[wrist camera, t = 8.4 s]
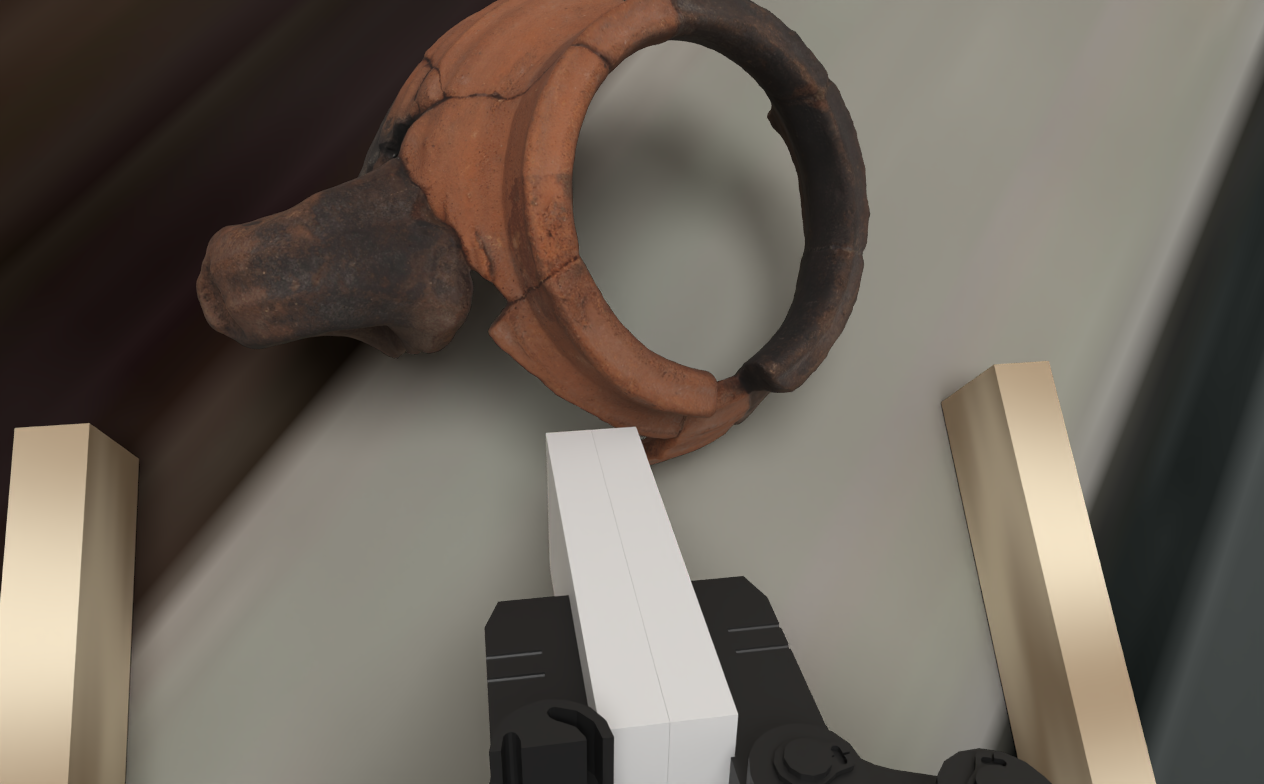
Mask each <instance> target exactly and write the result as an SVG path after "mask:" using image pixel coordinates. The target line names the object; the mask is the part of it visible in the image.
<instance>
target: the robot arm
mask: <svg viewBox="0 0 1264 784" xmlns="http://www.w3.org/2000/svg"><path fill="white" fill-rule="evenodd" d="M546 459H547V493H548V526H549V560H550V572H551V578H552V585H553V591H554V596H553V597H543V598H532V599H522V600H511V601H501V602H498V603H497V605H496V607H495V609H494V611H493V613H492V615H491V617H490V618H489V620H488V622H487V624H486V626H485V643H486V663H487V682H488V702H489V721H490V741H491V746H490V751H489V756H490V770H491V780H490V783H489V784H1052V783H1051V782H1050V781H1049V780H1048V779H1047V778H1046V777H1045V776H1043V775H1042V774H1041V773H1039V772H1038V771H1037V770H1036V769H1034V768H1033V767H1032V766H1030V765H1029V764H1028V763H1026V762H1025V761H1023V760H1020V759H1018V758H1016V757H1013V756H1011V755H1009V754H1006V753H1004V752H1000V751H994V750H987V749H980V748H978V749H972V750H966V751H960V752H958V753H956V754H955V755H953V756H952V757H950V758H949V759H947V760H946V761H944V763H943V765H942V767H941V769H940V771H939V773H938V776H933V775H926V774H919V773H913V772H906V771H899V770H893V769H889V768H885V767H881V766H877V765H874V764H872V763H870V762H867V761H865V760H863V759H861V758H860V757H859V756H858V754H857V753H856V751H855V750H854V749H853V747H852V746H851V745H850V743H848V742H847V741H845V740H844V739H842V738H841V737H839V736H838V735H836V734H835V733H834V732H832V731H829V730H828V728H827V726H826V725H825V723H824V721H823V719H822V716H821V714H820V712H819V710H818V708H817V705H816V703H815V701H814V699H813V697H812V694H811V692H810V690H809V688H808V686H807V683H806V681H805V679H804V677H803V675H802V673H801V670H800V668H799V666H798V664H797V662H796V659H795V657H794V655H793V653H792V651H791V649H789V647H788V642H787V640H786V637H785V635H784V633H783V631H782V629H781V628H779V622H778V620H777V618H776V615H775V613H774V611H773V609H772V607H771V604H770V602H769V600H768V598H767V597H766V596H765V595H764V594H763V593H762V592H761V591H760V590H758V589H757V588H756V587H755V586H754V585H753V584H752V583H750V582H749V581H748V580H747V579H746V578H745V577H744V576H739V577H729V578H718V579H708V580H697V581H691V580H690V577H689V574H688V572H687V569H686V566H685V563H684V560H683V558H682V555H681V552H680V549H679V546H678V543H677V541H676V538H675V535H674V532H673V529H672V527H671V524H670V521H669V518H668V515H667V513H666V510H665V507H664V504H663V501H662V498H661V496H660V493H659V490H658V487H657V484H656V482H655V479H654V476H653V473H652V470H651V467H650V465H649V462H648V459H647V456H646V453H645V451H644V448H643V445H642V442H641V439H640V436H639V434H638V431H637V428H636V427H624V428H610V429H596V430H581V431H567V432H552V433H546Z"/></svg>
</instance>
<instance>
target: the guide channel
mask: <svg viewBox="0 0 1264 784" xmlns="http://www.w3.org/2000/svg"><path fill="white" fill-rule="evenodd" d="M941 404H942V408H943V413H944V417H945V422H946V427H947V431H948V436H949V441H950V445H951V450H952V455H953V459H954V464H955V469H956V473H957V478H958V483H959V487H960V492H961V496H962V501H963V506H964V510H965V515H966V520H967V524H968V529H969V534H970V538H971V543H972V548H973V552H974V557H975V561H976V566H977V571H978V575H979V580H980V585H981V589H982V594H983V599H984V603H985V608H986V613H987V617H988V622H989V626H990V631H991V636H992V640H993V645H994V650H995V654H996V659H997V664H998V668H999V673H1000V678H1001V682H1002V687H1003V692H1004V696H1005V701H1006V705H1007V710H1008V715H1009V719H1010V724H1011V729H1012V733H1013V738H1014V743H1015V747H1016V752H1017V757H1018V759H1020V760H1023V761H1025V762H1026V763H1028V764H1029V765H1030V766H1032V767H1033V768H1034V769H1036V770H1037V771H1038V772H1039V773H1041V774H1042V775H1043V776H1045V777H1046V778H1047V779H1048V780H1049V781H1050V782H1051V783H1052V784H1156V782H1155V778H1154V774H1153V770H1152V766H1151V762H1150V758H1149V754H1148V751H1147V747H1146V743H1145V739H1144V735H1143V731H1142V727H1141V723H1140V719H1139V715H1138V711H1137V707H1136V703H1135V699H1134V695H1133V691H1132V687H1131V683H1130V680H1129V676H1128V672H1127V668H1126V664H1125V660H1124V656H1123V652H1122V648H1121V644H1120V640H1119V636H1118V632H1117V628H1116V624H1115V620H1114V616H1113V612H1112V609H1111V605H1110V601H1109V597H1108V593H1107V589H1106V585H1105V581H1104V577H1103V573H1102V569H1101V565H1100V561H1099V557H1098V553H1097V549H1096V545H1095V541H1094V538H1093V534H1092V530H1091V526H1090V522H1089V518H1088V514H1087V510H1086V506H1085V502H1084V498H1083V494H1082V490H1081V486H1080V482H1079V478H1078V474H1077V470H1076V466H1075V463H1074V459H1073V455H1072V451H1071V447H1070V443H1069V439H1068V435H1067V431H1066V427H1065V423H1064V419H1063V415H1062V411H1061V407H1060V403H1059V399H1058V395H1057V392H1056V388H1055V384H1054V380H1053V376H1052V372H1051V368H1050V364H1049V361H1042V362H1026V363H1011V364H995V365H993V366H991V367H990V368H989V369H987V370H986V371H984V372H983V373H982V374H980V375H979V376H977V377H976V378H975V379H973V380H972V381H970V382H969V383H968V384H966V385H965V386H963V387H962V388H961V389H959V390H958V391H956V392H955V393H954V394H952V395H951V396H949V397H948V398H947V399H945V400H944V401H942V402H941ZM138 473H139V459H138V458H137V457H136V456H134V455H133V454H131V453H130V452H129V451H127V450H126V449H124V448H123V447H122V446H120V445H119V444H117V443H116V442H115V441H113V440H112V439H111V438H109V437H108V436H106V435H105V434H104V433H102V432H101V431H99V430H98V429H97V428H95V427H94V426H92V425H91V424H90V423H87V424H72V425H56V426H41V427H25V428H15V433H14V445H13V457H12V468H11V480H10V492H9V504H8V516H7V528H6V540H5V552H4V564H3V576H2V588H1V600H0V784H125V771H126V748H127V725H128V702H129V679H130V656H131V633H132V610H133V587H134V564H135V541H136V518H137V496H138Z"/></svg>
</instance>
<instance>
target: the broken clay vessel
mask: <svg viewBox="0 0 1264 784" xmlns="http://www.w3.org/2000/svg"><path fill="white" fill-rule="evenodd" d="M668 40H678V41H686V42H692V43H696V44H700V45H703V46H705V47H707V48H710V49H713V50H715V51H717V52H719V53H721V54H723V55H724V56H726V57H727V58H729V59H730V60H732V61H733V62H735V63H736V64H737V65H739V66H740V67H742V68H743V69H744V70H745V71H746V72H747V73H748V74H749V75H750V76H751V77H753V78H754V79H755V80H756V82H757V83H758V84H759V86H760V87H761V88H762V89H763V90H764V91H765V93H766V94H767V96H768V98H769V99H770V101H771V105H772V107H771V110H770V111H769V113H768V115H767V118H768V120H769V121H770V123H771V125H772V127H773V128H774V129H775V130H776V131H777V132H778V133H779V134H780V135H781V137H782V138H783V140H784V142H785V144H786V145H787V147H788V150H789V152H790V155H791V157H792V161H793V163H794V165H795V169H796V172H797V175H798V182H799V192H800V198H801V208H802V219H803V229H804V236H805V249H804V253H803V257H802V259H801V263H800V270H799V275H798V279H797V284H796V291H795V295H794V299H793V302H792V304H791V307H790V309H789V311H788V314H787V316H786V318H785V320H784V322H783V324H782V325H781V327H780V328H779V330H778V331H777V332H776V334H775V335H774V336H773V337H772V338H771V339H770V341H769V342H768V343H767V344H766V345H765V346H764V347H763V348H762V349H761V350H760V351H759V352H757V353H756V354H755V355H754V356H753V357H752V358H750V359H749V360H748V361H747V362H745V363H744V364H743V366H742V367H741V368H740V369H739V370H738V372H737V373H736V374H735V375H734V376H732V377H729V378H727V379H724V380H721V381H716V379H715V377H714V376H713V375H712V374H711V373H709V372H707V371H703V370H698V369H694V368H690V367H686V366H683V365H681V364H678V363H676V362H673V361H671V360H668V359H666V358H664V357H662V356H660V355H658V354H656V353H654V352H652V351H651V350H649V349H648V348H646V347H645V346H644V345H643V344H642V343H641V342H640V341H639V340H638V339H636V338H635V337H634V336H633V335H632V334H631V332H630V331H629V330H628V329H627V328H626V327H625V326H623V325H622V323H621V322H620V321H619V320H618V318H617V317H616V316H615V314H614V313H613V311H612V310H611V308H610V307H609V305H608V304H607V303H606V301H605V300H604V298H603V296H602V294H601V292H600V290H599V289H598V287H597V286H596V284H595V282H594V280H593V278H592V276H591V275H590V273H589V271H588V269H587V267H586V265H585V263H584V262H583V260H582V259H581V257H580V255H579V245H578V238H577V233H576V229H575V224H574V216H573V188H572V174H573V164H574V159H575V150H576V146H577V141H578V137H579V132H580V129H581V126H582V123H583V120H584V118H585V115H586V112H587V109H588V106H589V104H590V102H591V100H592V98H593V96H594V94H595V93H596V91H597V90H598V88H599V87H600V85H601V84H602V83H603V81H604V80H605V79H606V77H607V75H608V74H609V73H611V72H612V71H613V70H614V69H615V68H616V67H617V66H618V65H619V64H620V63H621V62H622V61H623V60H624V59H626V58H627V57H629V56H630V55H632V54H633V53H635V52H636V51H638V50H640V49H643V48H645V47H648V46H652V45H657V44H660V43H663V42H666V41H668ZM869 217H870V211H869V206H868V200H867V195H866V175H865V165H864V162H863V158H862V153H861V149H860V146H859V142H858V139H857V132H856V130H855V127H854V125H853V121H852V119H851V116H850V113H849V111H848V109H847V108H846V106H845V103H844V101H843V99H842V97H841V94H840V91H839V90H838V88H837V86H836V85H835V84H834V83H833V82H832V81H831V80H830V79H829V78H828V74H827V71H826V70H825V68H824V67H823V65H822V64H821V63H820V62H819V61H818V59H817V58H816V57H815V55H814V54H813V53H812V51H811V50H810V49H809V48H808V47H807V46H806V45H805V44H804V42H803V41H802V39H801V38H800V37H799V35H798V34H797V33H796V32H795V31H793V30H791V29H790V28H788V27H787V26H786V25H785V24H784V23H783V22H782V21H781V20H780V19H779V18H777V17H776V16H775V15H774V14H773V13H771V12H770V11H768V10H767V9H765V8H763V7H761V6H759V5H757V4H755V3H754V2H752V1H750V0H626V1H625V2H624V0H498V1H495V2H494V3H492V4H491V5H489V6H487V7H486V8H484V9H482V10H481V11H479V12H477V13H475V14H473V15H471V16H469V17H467V18H466V19H464V20H463V21H461V22H460V23H458V24H457V25H456V26H454V27H453V28H451V29H450V30H449V31H447V32H446V33H445V34H444V35H443V36H442V37H440V38H439V39H438V40H437V41H436V43H435V44H434V45H433V46H432V47H431V48H429V49H428V50H427V51H426V53H425V55H424V59H423V60H422V62H421V63H419V65H418V66H417V67H416V68H415V70H414V71H413V72H412V74H411V75H410V77H409V78H408V79H407V81H406V82H405V84H404V85H403V87H402V88H401V90H400V92H399V94H398V95H397V97H396V99H395V100H394V102H393V104H392V105H391V107H390V109H389V110H388V112H387V114H386V116H385V118H384V120H383V122H382V124H381V126H380V128H379V130H378V132H377V134H376V136H375V138H374V140H373V142H372V144H371V146H370V148H369V150H368V152H367V155H366V158H365V162H364V165H363V168H362V170H361V172H360V174H359V177H358V178H356V179H353V180H351V181H348V182H346V183H343V184H341V185H338V186H335V187H333V188H330V189H327V190H324V191H321V192H318V193H316V194H314V195H312V196H311V197H309V198H307V199H305V200H304V201H302V202H301V203H299V204H298V205H296V206H294V207H292V208H290V209H288V210H286V211H283V212H280V213H277V214H274V215H270V216H267V217H263V218H261V219H258V220H255V221H253V222H249V223H244V224H240V225H232V226H226V227H224V228H222V229H221V230H220V231H218V232H217V233H216V234H215V235H214V236H213V237H212V238H211V240H210V242H209V244H208V247H207V251H206V256H205V258H204V260H203V263H202V267H201V273H200V275H199V277H198V279H197V284H196V289H197V295H198V300H199V302H200V304H201V307H202V309H203V312H204V315H205V318H206V320H207V322H208V323H209V325H210V326H211V327H212V328H213V329H214V330H216V331H217V332H220V333H222V334H224V335H226V336H228V337H230V338H232V339H234V340H236V341H237V342H239V343H240V344H241V345H243V346H245V347H248V348H252V349H264V348H268V347H272V346H276V345H281V344H285V343H289V342H292V341H296V340H300V339H304V338H309V337H317V336H347V337H351V338H354V339H357V340H360V341H362V342H364V343H366V344H369V345H371V346H373V347H375V348H376V349H378V350H380V351H381V352H383V353H384V354H386V355H387V356H389V357H393V358H398V357H399V356H401V355H402V354H403V353H405V352H406V351H407V353H409V354H418V353H420V352H425V353H433V352H437V351H439V350H441V349H443V348H444V347H445V346H446V345H447V344H449V342H450V341H451V340H452V339H453V337H454V335H455V333H456V331H457V330H458V329H459V328H460V327H461V326H462V325H463V324H464V322H465V320H466V318H467V315H468V313H469V311H470V309H471V302H472V297H473V292H474V288H473V282H472V279H471V275H470V272H471V270H474V271H476V272H478V273H479V274H480V275H481V276H482V277H483V278H485V279H486V280H488V281H490V282H492V283H493V285H494V286H495V287H496V288H497V289H498V291H499V292H500V293H502V295H503V296H504V297H505V299H506V300H507V304H506V307H505V308H504V309H502V311H501V314H500V315H499V316H498V317H497V318H496V319H495V320H494V321H493V323H492V325H491V327H490V328H489V329H488V333H489V335H490V337H491V338H492V339H493V340H494V342H495V343H496V344H497V345H498V346H499V347H500V348H501V349H502V350H503V351H505V352H506V353H508V354H509V355H510V356H511V357H512V358H513V359H514V360H515V361H517V362H518V363H519V364H520V365H521V366H523V367H524V368H525V369H526V370H527V371H528V372H530V373H531V374H533V375H534V376H536V377H537V378H539V379H540V380H541V381H542V382H543V383H544V384H545V385H546V386H547V387H548V388H549V389H550V390H551V391H552V392H554V393H555V394H556V395H557V396H559V397H561V398H563V399H564V400H566V401H568V402H570V403H572V404H574V405H576V406H578V407H580V408H581V409H583V410H585V411H587V412H589V413H591V414H593V415H595V416H597V417H598V418H599V419H600V420H602V421H604V422H606V423H608V424H610V425H612V426H613V427H615V428H624V427H636V428H637V431H638V434H639V435H641V436H646V437H647V438H645V439H643V440H641V442H642V445H643V448H644V451H645V453H646V456H647V459H648V462H649V465H653V464H655V463H659V462H663V461H665V460H668V459H671V458H674V457H677V456H680V455H684V454H686V453H689V452H692V451H695V450H697V449H699V448H701V447H703V446H705V445H707V444H709V443H711V442H713V441H714V440H716V439H717V438H719V437H721V436H722V435H724V434H725V433H726V432H727V431H728V430H729V429H730V428H731V427H732V426H733V425H736V424H740V423H741V422H743V421H744V420H745V419H746V418H747V417H748V416H749V415H750V414H751V413H752V412H753V411H754V410H755V408H756V407H757V406H758V405H759V403H760V402H761V401H762V400H763V399H764V398H765V397H766V396H767V395H768V394H769V393H770V392H775V393H785V392H792V391H794V390H795V389H797V388H798V387H800V386H801V385H802V384H803V383H804V382H805V381H806V380H807V379H808V377H809V376H810V375H811V374H812V373H813V372H814V371H816V369H817V368H818V367H819V365H820V364H821V363H822V362H823V360H824V359H825V358H826V357H827V355H828V352H829V350H830V349H831V347H832V345H833V344H834V343H835V341H836V340H837V338H838V337H839V336H840V334H841V333H842V331H843V329H844V328H845V325H846V323H847V321H848V318H849V316H850V314H851V312H852V310H853V306H854V304H855V302H856V300H857V295H858V291H859V287H860V281H861V276H862V272H863V268H864V260H863V256H862V254H863V251H864V249H865V247H866V244H867V236H868V221H869Z"/></svg>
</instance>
